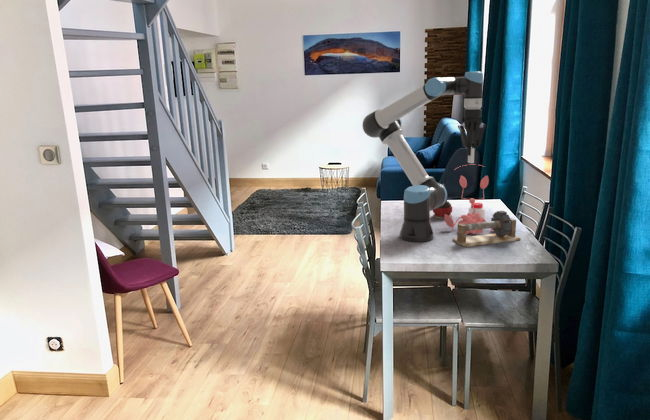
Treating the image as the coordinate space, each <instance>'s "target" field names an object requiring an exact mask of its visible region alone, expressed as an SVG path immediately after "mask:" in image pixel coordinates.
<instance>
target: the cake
mask: <svg viewBox="0 0 650 420" xmlns="http://www.w3.org/2000/svg"><path fill="white" fill-rule="evenodd" d="M442 185H443V186H444V187H445V184H444V183H442ZM432 213H433V215H432V217H433V218H435V219H441V220H443V219H444V215H445V214H446V215H448V216H450V217H451V218H452V217H453V215H452V213H453V206H452V204H451V202H449V201H448V196H447V199H446V202H445V203H444V204H443V205H442V206H441V207H439V208H437V209H434V210H432Z"/></svg>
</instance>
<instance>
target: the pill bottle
mask: <svg viewBox="0 0 650 420" xmlns="http://www.w3.org/2000/svg"><path fill="white" fill-rule="evenodd" d="M473 206H474V209H475V212H474V210H473ZM473 206H472V204H471V203H470V207H469V208H468V213H471V214H473V212H474V214H475V213H479V215H480V218H484V219H485V217H486V209H485V207H484V204H483V203H481V202H475V203H473ZM474 214H473V215H474ZM485 221H486V219H485ZM485 221H484V222H485Z"/></svg>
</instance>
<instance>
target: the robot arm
mask: <svg viewBox="0 0 650 420" xmlns="http://www.w3.org/2000/svg"><path fill="white" fill-rule="evenodd" d="M464 73H465V74H464V76H456V77H455V76H447V77H446V76H443V77H440V76H439V77H438V76H437V77H431V78H429V79H428V80H427V81H426V83H425V84H424V85H422V86H420V87H419V88H416V89H415V90H413V91H411V92H410V93H408V94H406V95H404V96H403V97H401V98H399V99H398V100H396V101H394V102H392V103H390V104H389V105H387V106H385V107H384V108H382V109H379V108H378V109H376V110H375V111H373V112H370V113H368V114H367V115H366V116H365V117H364V119H363V120H362V130H363V132H364V134H366V135H367V136H368V137H369V138H373V139H374V138H375V139H376V138H379V140H380V141H381V143H382V144H383V145H387V146H388V148H389V149H390V151H391V153H392V154H393V157H395V159H396V160H397V162H398V164H399V165H400V167H401V169H402V170H403V172H404V174H405V175H406V177H407V178H408V180H409V181H410V183H411V186H408V187H407V188H406V189H404V193H403V223H402V226H401V229H400V232H399V238H400V239H401V240H402V241H405V242H412V243H413V242H414V243H424V242H428V241H432V240H433V239H434V232H433V228H432V224H431V221H430V218H431V217H430V215H431V211H432V212H433V210H434V209H437V208H439V207H441V206H442V205H443V204H444V203H445V202H446V199H447V200H448V198H447V197H448V191H447V189H446V187H445V185H444V186H443V185H442V184H443V183H442V184H441V183H439V182H437V181H436V179H435V178H434V176H429V174H428V173H427V171H426V170H425V168H424V166H423V165H422V163H421V162H420V160H419V159H418V157H417V156H416V154H415V153H414V152H413V149H412V148H411V146H410V145H409V143H408V141H407V139H406V138H405V137H404V135H403V133H404V130H403V128H402V119H401V118H404V117H405V116H406V115H409V114H411V113H412V112H415V110H417V109H419V108H421V107H423V106H425V105H426V104H428V103H430V102H432V101H433V100H434V101H435V100H436V99H438V98H439V97H442V96H456V95H463V97H464V99H463V108H464V109H463V121H462V123H461V124H460V125H458V126H457V128H458V130H459V134H460V138H461V144H462V147H464V148H466V156H467V163H468V164H475V156H476V155H477V149H478V148H479V147H480V146H481V144H482V139H483V135H484V132H485V129H486V128H487V124H485V123H484V122H483V121H482V117H483V116H482V115H483V113H482V112H483V111H482V109H481V108H483V89H484V74H483V72H482V71H466V72H464Z"/></svg>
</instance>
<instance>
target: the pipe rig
mask: <svg viewBox="0 0 650 420" xmlns="http://www.w3.org/2000/svg"><path fill="white" fill-rule="evenodd" d="M510 219H511V220H510V221H509V222H511V223H512V227H511V230H510V232H509V234H508V235H506V236H502V237H499V236H497V235H496V232H494V233H489V234H479V235H472V236H467V234H466V231H471V230H480V229H482V230H485V229H491V228H501V221H500V220H497V221H486V222H481V223H472V224H462V223H461V224H458V223H457V232H456V233H457V236H456V238H455V237H453V238H452V242H455V243H456V244H458V245H460V246H462V247H463V248H468V247H473V246H475V247H476V246H481V245H482V246H483V245H484V246H485V245H489V244H490V245H492V244H499V243H506V242H508V243H509V242H514V241H521V237H519V236H517V235H516V232H517V231H516V230H517V229H516V228H517V219H514V218H512V217H510Z"/></svg>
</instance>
